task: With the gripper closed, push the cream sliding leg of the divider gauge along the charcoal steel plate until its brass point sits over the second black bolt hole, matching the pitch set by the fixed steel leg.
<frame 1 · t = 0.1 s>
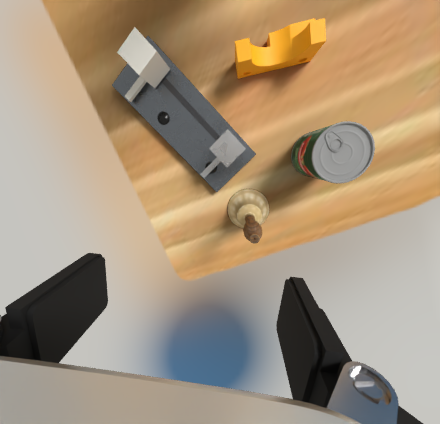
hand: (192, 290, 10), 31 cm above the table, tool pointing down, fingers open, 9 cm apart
sliding leg: (136, 73, 32), point 5 cm above the table, slide at 0.0 cm
pipe clamp: (271, 56, 34), on the table
canned tomato: (312, 154, 38), on the table
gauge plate: (187, 121, 37), on the table
hand bell: (247, 208, 41), on the table
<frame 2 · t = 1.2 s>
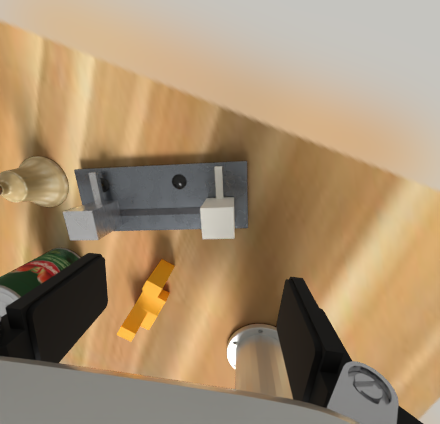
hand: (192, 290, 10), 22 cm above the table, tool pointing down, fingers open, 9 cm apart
sliding leg: (218, 200, 27), point 5 cm above the table, slide at 0.0 cm
pipe clamp: (159, 288, 38), on the table
canned tomato: (66, 266, 38), on the table
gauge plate: (165, 197, 33), on the table
hand bell: (45, 182, 34), on the table
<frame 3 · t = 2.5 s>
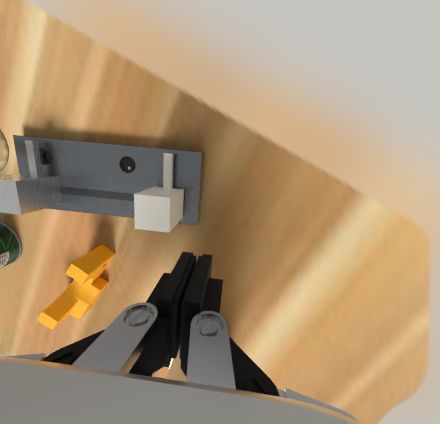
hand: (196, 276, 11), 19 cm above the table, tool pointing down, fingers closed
sliding leg: (161, 189, 25), point 5 cm above the table, slide at 0.0 cm
pipe clamp: (97, 275, 35), on the table
canned tomato: (1, 241, 34), on the table
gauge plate: (113, 179, 30), on the table
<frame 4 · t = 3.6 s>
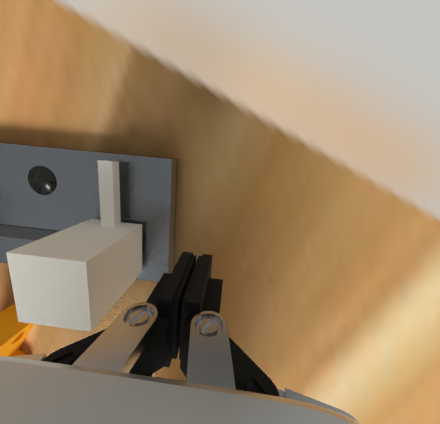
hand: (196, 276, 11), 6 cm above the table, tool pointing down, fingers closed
sliding leg: (88, 231, 13), point 5 cm above the table, slide at 0.0 cm
pipe clamp: (17, 346, 22), on the table
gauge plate: (28, 204, 18), on the table
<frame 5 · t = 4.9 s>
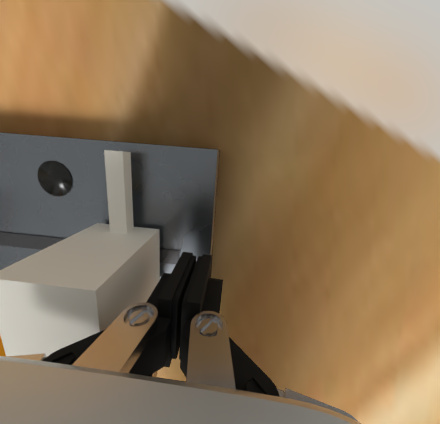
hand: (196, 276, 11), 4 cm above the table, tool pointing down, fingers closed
sliding leg: (96, 241, 10), point 5 cm above the table, slide at 1.2 cm, touching gripper
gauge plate: (38, 207, 15), on the table
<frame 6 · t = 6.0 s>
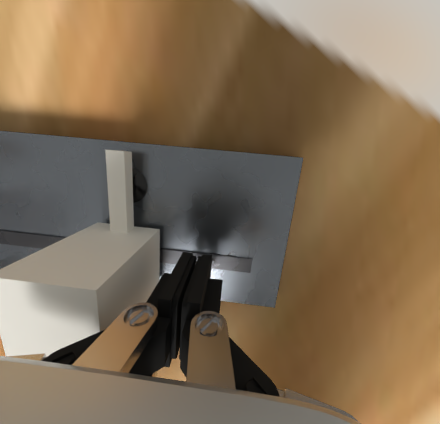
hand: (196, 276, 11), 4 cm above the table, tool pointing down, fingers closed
sliding leg: (96, 241, 10), point 5 cm above the table, slide at 6.0 cm, touching gripper
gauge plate: (101, 212, 15), on the table
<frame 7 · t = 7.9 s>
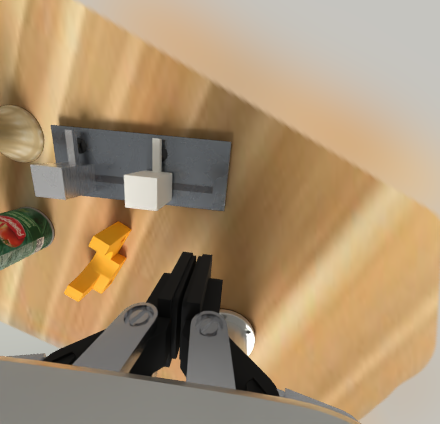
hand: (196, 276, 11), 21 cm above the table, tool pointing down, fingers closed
sliding leg: (150, 171, 27), point 5 cm above the table, slide at 6.0 cm
pipe clamp: (116, 252, 37), on the table
canned tomato: (34, 227, 36), on the table
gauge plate: (144, 168, 32), on the table
hand bell: (19, 134, 32), on the table
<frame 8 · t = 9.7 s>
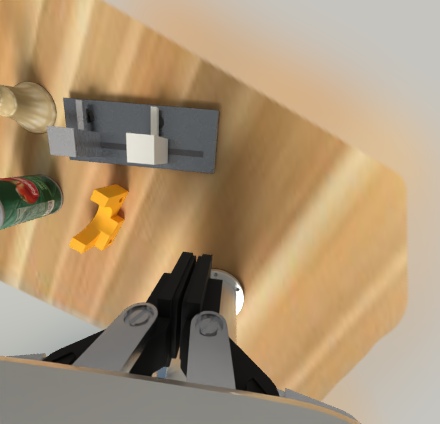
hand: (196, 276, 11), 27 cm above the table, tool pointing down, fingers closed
sliding leg: (148, 134, 31), point 5 cm above the table, slide at 6.0 cm
pipe clamp: (115, 214, 41), on the table
canned tomato: (45, 194, 41), on the table
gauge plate: (143, 137, 36), on the table
hand bell: (35, 108, 36), on the table
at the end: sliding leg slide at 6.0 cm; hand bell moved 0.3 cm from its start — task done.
